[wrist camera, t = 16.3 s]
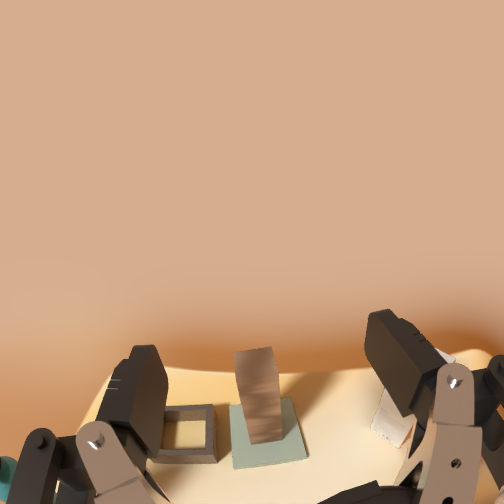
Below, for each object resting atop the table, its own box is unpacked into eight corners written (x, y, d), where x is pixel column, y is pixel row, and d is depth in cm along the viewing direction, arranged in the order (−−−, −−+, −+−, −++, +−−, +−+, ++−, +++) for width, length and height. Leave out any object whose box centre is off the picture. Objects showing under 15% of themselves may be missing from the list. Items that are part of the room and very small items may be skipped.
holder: (216, 414, 39) (212, 403, 38) (217, 463, 30) (212, 454, 29) (160, 416, 38) (154, 406, 37) (153, 462, 29) (146, 454, 28)
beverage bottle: (57, 530, 13) (-49, 455, 6) (71, 502, 19) (-23, 420, 12) (91, 552, 12) (-24, 489, 5) (105, 520, 18) (4, 446, 11)
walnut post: (277, 417, 37) (271, 346, 31) (282, 440, 32) (278, 372, 27) (247, 421, 36) (233, 352, 31) (251, 444, 32) (235, 378, 27)
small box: (398, 450, 27) (428, 396, 22) (368, 428, 32) (387, 371, 27) (428, 416, 30) (457, 357, 26) (400, 398, 36) (420, 339, 31)
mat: (290, 398, 41) (290, 396, 40) (306, 458, 29) (307, 456, 29) (229, 407, 40) (229, 405, 40) (234, 469, 29) (233, 467, 29)
